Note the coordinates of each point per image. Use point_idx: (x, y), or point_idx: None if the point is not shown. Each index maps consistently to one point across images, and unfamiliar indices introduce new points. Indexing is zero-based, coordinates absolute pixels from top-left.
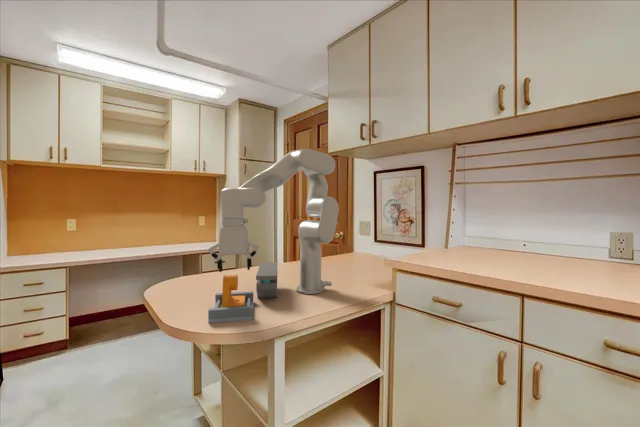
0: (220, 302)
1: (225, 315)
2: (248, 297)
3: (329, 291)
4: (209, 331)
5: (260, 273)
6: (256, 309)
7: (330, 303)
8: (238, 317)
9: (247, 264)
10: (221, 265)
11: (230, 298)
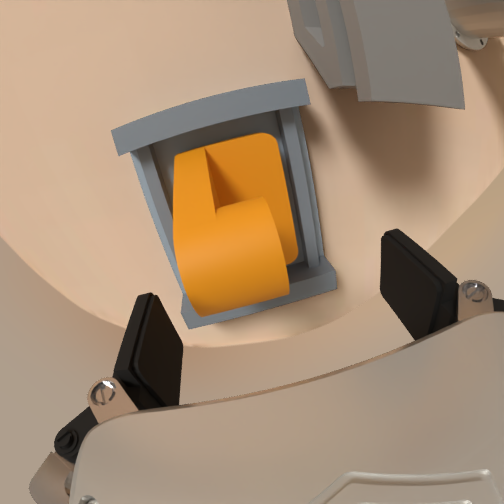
0: (156, 160)
1: None
2: (283, 115)
3: (491, 39)
4: (220, 341)
5: (381, 33)
6: (321, 173)
7: (496, 137)
8: None
9: (401, 320)
10: (175, 375)
11: (219, 202)
